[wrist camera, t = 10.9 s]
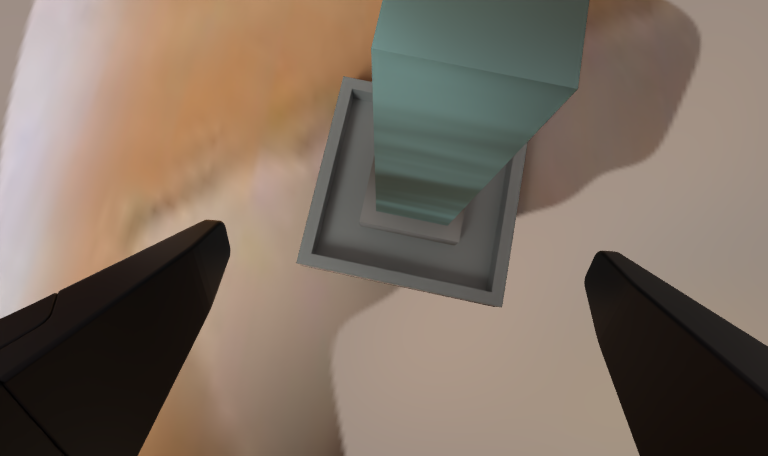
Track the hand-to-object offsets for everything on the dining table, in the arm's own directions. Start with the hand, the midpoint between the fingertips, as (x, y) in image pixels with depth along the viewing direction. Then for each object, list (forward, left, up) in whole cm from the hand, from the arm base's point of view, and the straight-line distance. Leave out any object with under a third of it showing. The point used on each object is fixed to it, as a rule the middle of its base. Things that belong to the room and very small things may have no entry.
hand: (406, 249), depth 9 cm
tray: (+5, 0, -11) cm, 12 cm away
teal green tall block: (+5, 0, -11) cm, 12 cm away
